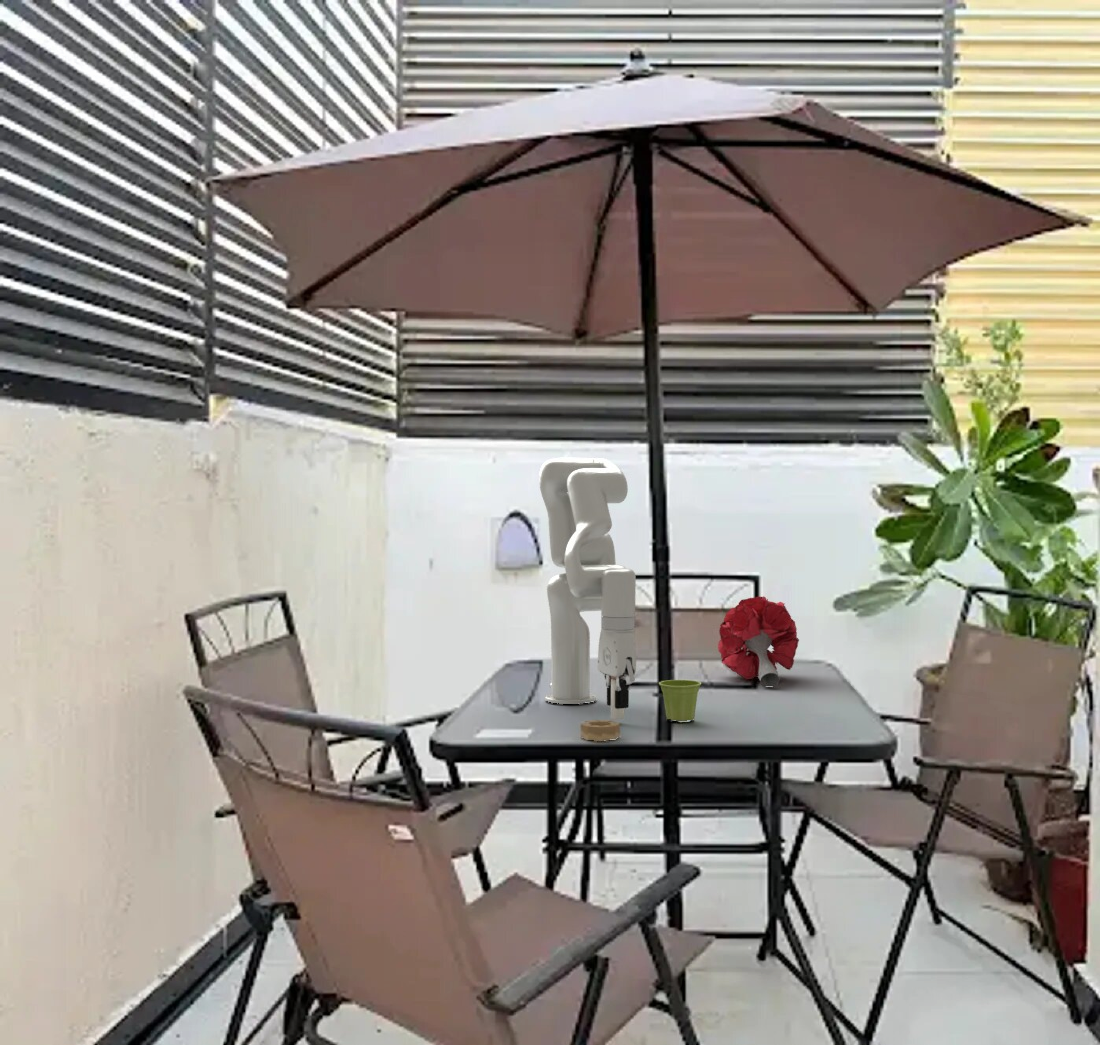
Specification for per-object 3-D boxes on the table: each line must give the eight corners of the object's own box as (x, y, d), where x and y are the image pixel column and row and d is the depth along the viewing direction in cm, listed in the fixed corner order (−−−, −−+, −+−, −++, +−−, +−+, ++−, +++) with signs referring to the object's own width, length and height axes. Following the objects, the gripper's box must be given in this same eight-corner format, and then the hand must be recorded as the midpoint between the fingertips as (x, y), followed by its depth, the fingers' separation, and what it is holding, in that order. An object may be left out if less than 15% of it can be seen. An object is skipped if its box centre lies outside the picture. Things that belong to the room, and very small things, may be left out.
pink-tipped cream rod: (608, 717, 266) (608, 672, 266) (620, 716, 268) (620, 671, 267) (614, 719, 264) (615, 674, 263) (626, 718, 265) (627, 673, 264)
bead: (576, 736, 251) (576, 722, 251) (607, 733, 254) (607, 719, 254) (592, 742, 244) (592, 728, 244) (624, 739, 247) (624, 725, 247)
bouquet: (810, 710, 320) (789, 643, 345) (814, 639, 307) (791, 575, 333) (730, 716, 320) (714, 648, 346) (730, 645, 308) (714, 581, 334)
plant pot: (668, 726, 262) (668, 686, 262) (653, 718, 271) (652, 680, 271) (708, 723, 265) (707, 684, 265) (691, 716, 274) (691, 678, 274)
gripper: (586, 620, 270) (585, 701, 271) (621, 629, 256) (620, 714, 257) (615, 619, 274) (614, 698, 274) (651, 627, 259) (650, 712, 260)
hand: (617, 705), depth 265 cm, fingers closed on pink-tipped cream rod, 3 cm apart
